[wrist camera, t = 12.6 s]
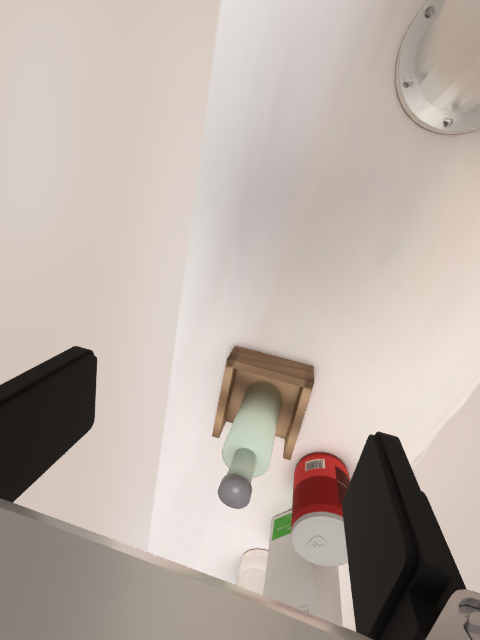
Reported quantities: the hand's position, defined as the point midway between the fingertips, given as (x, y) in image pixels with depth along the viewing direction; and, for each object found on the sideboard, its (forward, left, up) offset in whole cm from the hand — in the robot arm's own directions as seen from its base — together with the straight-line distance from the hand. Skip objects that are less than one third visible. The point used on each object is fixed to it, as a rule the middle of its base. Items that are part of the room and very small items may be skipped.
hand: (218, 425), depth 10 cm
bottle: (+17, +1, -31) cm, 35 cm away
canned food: (+28, +12, -32) cm, 44 cm away
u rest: (+17, +1, -31) cm, 36 cm away
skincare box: (+38, +12, -32) cm, 51 cm away
